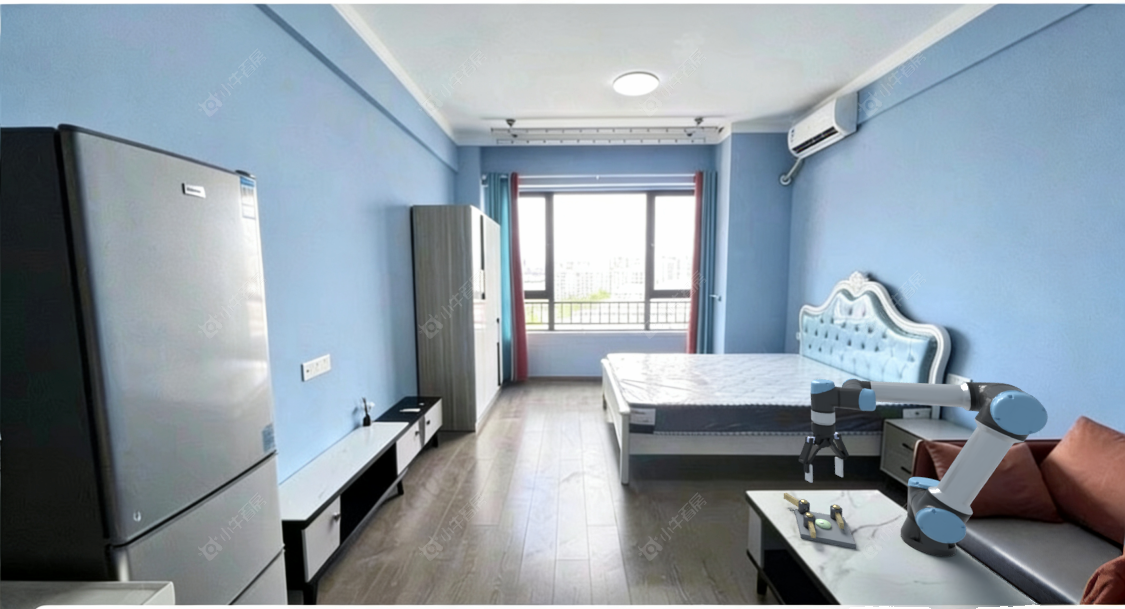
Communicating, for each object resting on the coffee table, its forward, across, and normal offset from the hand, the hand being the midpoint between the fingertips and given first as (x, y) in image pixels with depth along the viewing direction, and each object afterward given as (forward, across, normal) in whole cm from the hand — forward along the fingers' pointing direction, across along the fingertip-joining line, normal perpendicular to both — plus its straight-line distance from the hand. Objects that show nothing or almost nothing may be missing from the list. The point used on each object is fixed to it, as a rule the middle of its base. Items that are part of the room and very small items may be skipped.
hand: (824, 478), depth 155 cm
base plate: (+22, -2, -3) cm, 22 cm away
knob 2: (+20, +6, -1) cm, 21 cm away
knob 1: (+20, -2, -16) cm, 25 cm away
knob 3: (+20, -9, -3) cm, 22 cm away
